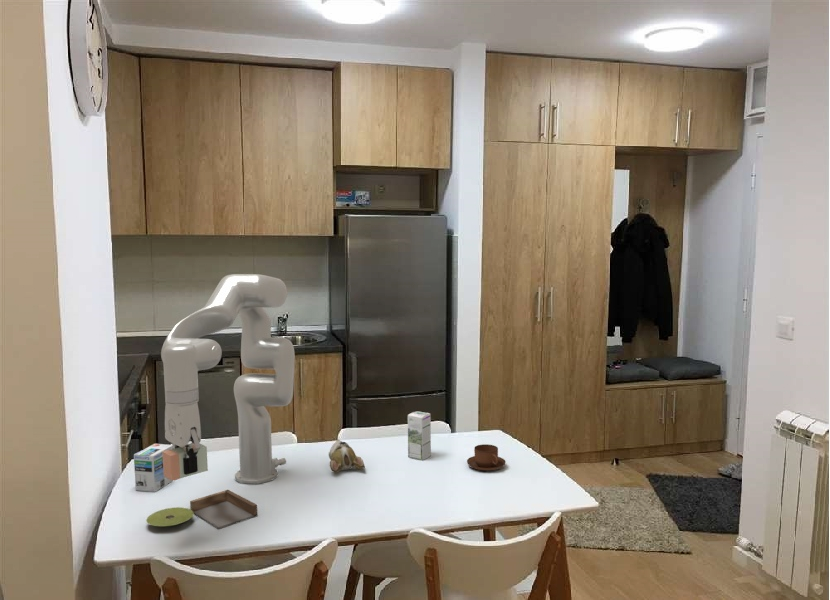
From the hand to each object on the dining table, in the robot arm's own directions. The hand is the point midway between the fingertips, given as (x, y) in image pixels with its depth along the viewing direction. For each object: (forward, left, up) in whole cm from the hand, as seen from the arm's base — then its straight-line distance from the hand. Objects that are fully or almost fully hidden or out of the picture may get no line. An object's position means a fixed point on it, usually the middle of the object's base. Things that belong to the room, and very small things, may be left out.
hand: (185, 469), depth 158 cm
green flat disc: (0, -10, -17) cm, 19 cm away
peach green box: (0, 0, -1) cm, 1 cm away
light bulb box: (-9, -39, -17) cm, 43 cm away
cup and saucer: (-87, +22, -17) cm, 92 cm away
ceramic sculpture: (-56, -10, -17) cm, 59 cm away
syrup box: (-80, 0, -17) cm, 82 cm away
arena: (-12, -5, -17) cm, 21 cm away
